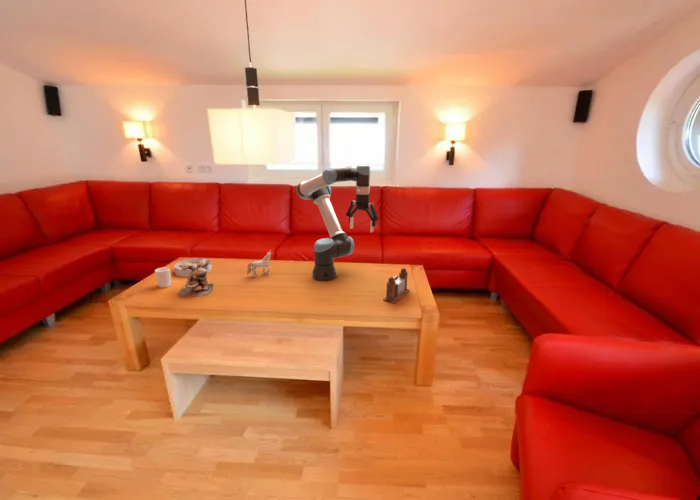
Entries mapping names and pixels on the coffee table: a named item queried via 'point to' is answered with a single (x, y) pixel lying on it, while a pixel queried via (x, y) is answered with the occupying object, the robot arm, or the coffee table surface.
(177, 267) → the dish
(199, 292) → the cherub figurine
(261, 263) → the unicorn figurine
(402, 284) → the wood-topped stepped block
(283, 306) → the coffee table surface
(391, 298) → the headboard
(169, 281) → the white cup
